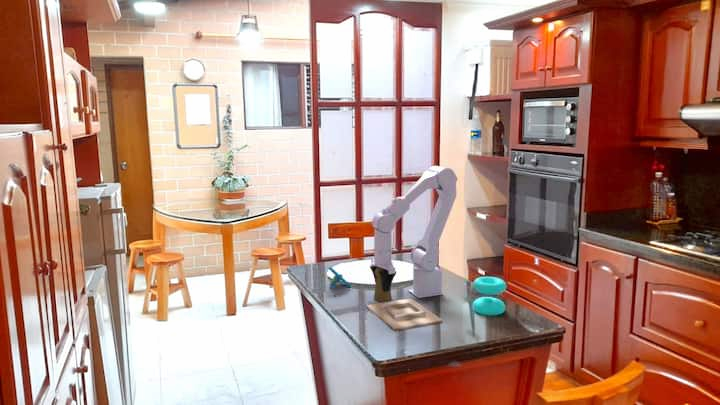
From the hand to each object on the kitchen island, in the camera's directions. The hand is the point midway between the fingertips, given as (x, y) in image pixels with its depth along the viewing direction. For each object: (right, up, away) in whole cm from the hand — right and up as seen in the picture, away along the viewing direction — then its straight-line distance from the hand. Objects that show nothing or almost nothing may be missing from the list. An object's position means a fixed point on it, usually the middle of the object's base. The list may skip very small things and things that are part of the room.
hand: (382, 288), depth 174 cm
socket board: (+6, -6, -13) cm, 15 cm away
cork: (0, -4, +1) cm, 4 cm away
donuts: (+33, -5, -11) cm, 35 cm away
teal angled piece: (-15, -2, +13) cm, 20 cm away
